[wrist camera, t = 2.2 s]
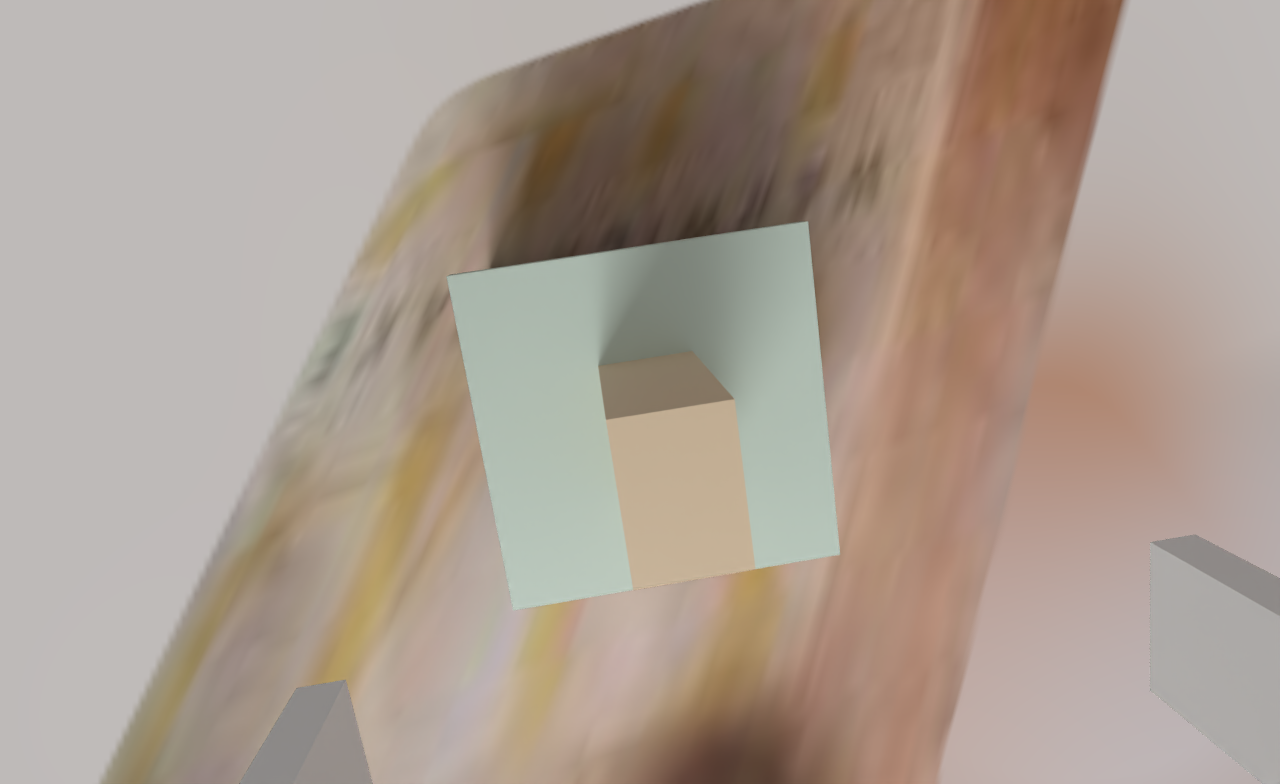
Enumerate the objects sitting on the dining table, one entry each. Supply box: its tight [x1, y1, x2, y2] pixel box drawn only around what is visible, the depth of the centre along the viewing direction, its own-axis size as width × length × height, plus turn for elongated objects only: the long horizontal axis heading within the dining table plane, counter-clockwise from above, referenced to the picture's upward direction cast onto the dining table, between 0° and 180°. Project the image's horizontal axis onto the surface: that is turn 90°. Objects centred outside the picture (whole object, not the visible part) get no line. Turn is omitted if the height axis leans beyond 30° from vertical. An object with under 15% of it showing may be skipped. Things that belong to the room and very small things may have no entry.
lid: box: [447, 222, 840, 611], centre depth 27 cm, size 13×13×10 cm
